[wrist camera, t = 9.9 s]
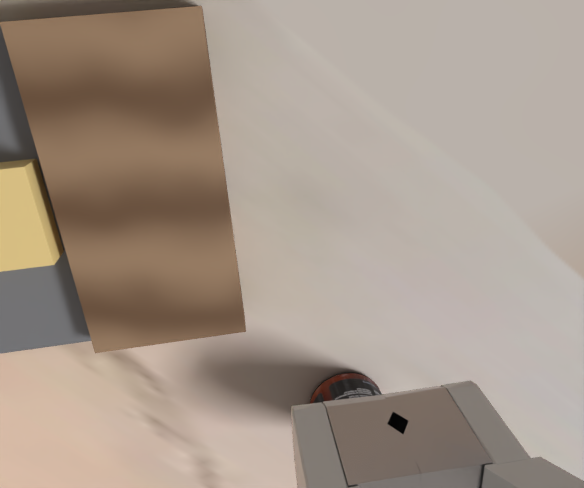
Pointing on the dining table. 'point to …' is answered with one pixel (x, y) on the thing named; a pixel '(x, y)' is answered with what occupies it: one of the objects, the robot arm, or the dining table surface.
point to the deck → (133, 170)
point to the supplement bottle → (345, 388)
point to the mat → (39, 280)
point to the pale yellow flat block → (26, 218)
